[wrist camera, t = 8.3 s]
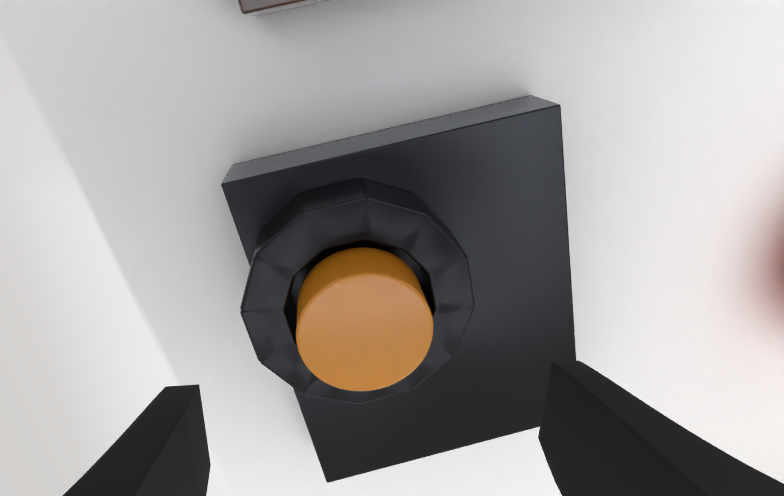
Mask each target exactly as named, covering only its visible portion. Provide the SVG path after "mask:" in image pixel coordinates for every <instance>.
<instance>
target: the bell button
mask: <svg viewBox="0 0 784 496" xmlns="http://www.w3.org/2000/svg"><path fill="white" fill-rule="evenodd" d="M433 327H434V325H433V317H432V314H431V310H430V308H429V305H428V303H427V300H426V298H425V296H424V293H423V291H422V288H421V286H420V284H419V281H418V279H417V277H416V275H415V274H414V272H413V270H412V269H411V268H410V267H409V266H408V265H407V264H406V263H405V262H404V261H403V260H402V259H400V258H399V257H397V256H395V255H393V254H391V253H389V252H387V251H384V250H381V249H376V248H367V247H358V248H350V249H345V250H342V251H339V252H337V253H334V254H332V255H330V256H328V257H327V258H325V259H323V260H322V261H321V262H319V263H318V264H317V265H316V266H315V267H314V268H313V269H312V270H311V271H310V272H309V274H308V275H307V276H306V278H305V280H304V282H303V283H302V286H301V288H300V291H299V296H298V306H297V326H296V342H297V347H298V351H299V354H300V356H301V358H302V360H303V362H304V363H305V365H306V366H307V367H308V369H309V370H310V371H311V372H312V373H313V374H314V375H315V376H316V377H318V378H319V379H321V380H322V381H324V382H325V383H327V384H329V385H331V386H334V387H337V388H340V389H345V390H351V391H370V390H376V389H381V388H384V387H387V386H390V385H392V384H394V383H397V382H398V381H400V380H402V379H404V378H405V377H406V376H408V375H409V374H410V373H411V372H413V371H414V370H415V369H416V368H417V367H418V365H419V364H420V363H421V362H422V360H423V359H424V357H425V356H426V354H427V352H428V350H429V348H430V345H431V342H432V337H433Z"/></svg>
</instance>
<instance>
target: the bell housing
mask: <svg viewBox="0 0 784 496" xmlns="http://www.w3.org/2000/svg"><path fill="white" fill-rule="evenodd" d="M221 186H222V189H223V191H224V194H225V197H226V200H227V203H228V205H229V208H230V211H231V214H232V217H233V219H234V222H235V225H236V228H237V231H238V234H239V236H240V239H241V242H242V245H243V248H244V250H245V253H246V256H247V259H248V262H249V265H250V271H249V275H248V279H247V283H246V287H245V291H244V295H243V299H242V303H241V307H240V308H241V312H240V313H241V316H242V319H243V321H244V324H245V326H246V329H247V332H248V334H249V337H250V340H251V342H252V345H253V348H254V350H255V353H256V355H257V358H258V360H259V361H260V362H261V363H262V364H263V365H264V366H266V367H267V368H268V369H270V370H271V371H272V372H274V373H275V374H276V375H277V376H279V377H280V378H281V379H283V380H284V381H285V382H287V383H288V384H289V385H291V386H292V387H293V388H294V391H295V394H296V397H297V400H298V403H299V405H300V408H301V411H302V414H303V417H304V419H305V422H306V425H307V428H308V431H309V433H310V436H311V439H312V442H313V445H314V448H315V450H316V453H317V456H318V459H319V462H320V464H321V467H322V470H323V473H324V476H325V479H326V481H327V483H328V482H332V481H336V480H340V479H344V478H347V477H351V476H355V475H359V474H362V473H366V472H370V471H374V470H377V469H381V468H385V467H389V466H393V465H396V464H400V463H404V462H408V461H411V460H415V459H419V458H423V457H427V456H430V455H434V454H438V453H442V452H445V451H449V450H453V449H457V448H460V447H464V446H468V445H472V444H476V443H479V442H483V441H487V440H491V439H494V438H498V437H502V436H506V435H510V434H513V433H517V432H521V431H525V430H528V429H532V428H536V427H540V425H541V420H542V414H543V409H544V403H545V397H546V392H547V386H548V381H549V375H550V370H551V364H552V362H566V361H576V352H575V335H574V319H573V303H572V287H571V270H570V254H569V238H568V221H567V205H566V189H565V173H564V156H563V140H562V124H561V107H560V104H556V103H553V102H550V101H547V100H544V99H541V98H538V97H535V96H532V95H530V96H526V97H521V98H517V99H513V100H508V101H504V102H500V103H496V104H491V105H487V106H483V107H478V108H474V109H470V110H466V111H461V112H457V113H453V114H448V115H444V116H440V117H435V118H431V119H427V120H423V121H418V122H414V123H410V124H405V125H401V126H397V127H393V128H388V129H384V130H380V131H375V132H371V133H367V134H362V135H358V136H354V137H350V138H345V139H341V140H337V141H332V142H328V143H324V144H320V145H315V146H311V147H307V148H302V149H298V150H294V151H289V152H285V153H281V154H277V155H272V156H268V157H264V158H259V159H255V160H251V161H247V162H242V163H238V164H234V165H232V166H231V168H230V170H229V171H228V173H227V175H226V177H225V178H224V180H223V182H222V184H221ZM358 247H367V248H376V249H381V250H384V251H387V252H389V253H391V254H393V255H395V256H397V257H399V258H400V259H402V260H403V261H404V262H405V263H406V264H407V265H408V266H409V267H410V268H411V269H412V270H413V272H414V274H415V275H416V277H417V279H418V281H419V284H420V286H421V288H422V291H423V293H424V296H425V298H426V300H427V303H428V305H429V308H430V310H431V314H432V317H433V325H434V327H433V337H432V342H431V345H430V348H429V350H428V352H427V354H426V356H425V357H424V359H423V360H422V362H421V363H420V364H419V365H418V367H417V368H416V369H415V370H414V371H413V372H411V373H410V374H409V375H408V376H406V377H405V378H404V379H402V380H400V381H398V382H397V383H394V384H392V385H390V386H387V387H384V388H381V389H376V390H370V391H351V390H345V389H340V388H337V387H334V386H331V385H329V384H327V383H325V382H324V381H322V380H321V379H319V378H318V377H316V376H315V375H314V374H313V373H312V372H311V371H310V370H309V369H308V367H307V366H306V365H305V363H304V362H303V360H302V358H301V356H300V354H299V351H298V347H297V342H296V326H297V306H298V296H299V291H300V288H301V286H302V283H303V282H304V280H305V278H306V276H307V275H308V274H309V272H310V271H311V270H312V269H313V268H314V267H315V266H316V265H317V264H318V263H319V262H321V261H322V260H323V259H325V258H327V257H328V256H330V255H332V254H334V253H337V252H339V251H342V250H345V249H350V248H358Z"/></svg>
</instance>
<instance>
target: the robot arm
mask: <svg viewBox="0 0 784 496" xmlns="http://www.w3.org/2000/svg"><path fill="white" fill-rule="evenodd" d="M538 438H539V441H540V444H541V446H542V449H543V452H544V454H545V457H546V460H547V463H548V465H549V467H550V470H551V472H552V475H553V477H554V480H555V482H556V484H557V486H558V488H559V490H560V492H561V494H562V496H784V484H783V483H781V482H779V481H777V480H775V479H773V478H771V477H769V476H767V475H765V474H763V473H761V472H760V471H758V470H756V469H754V468H752V467H750V466H748V465H746V464H745V463H743V462H741V461H739V460H737V459H736V458H734V457H732V456H730V455H729V454H727V453H725V452H723V451H722V450H720V449H718V448H717V447H715V446H713V445H711V444H710V443H708V442H706V441H705V440H703V439H701V438H700V437H698V436H696V435H695V434H693V433H691V432H690V431H688V430H686V429H685V428H683V427H682V426H680V425H678V424H677V423H675V422H674V421H672V420H671V419H669V418H667V417H666V416H664V415H663V414H661V413H660V412H658V411H656V410H655V409H653V408H652V407H650V406H649V405H647V404H646V403H644V402H643V401H641V400H640V399H638V398H637V397H635V396H634V395H632V394H631V393H629V392H628V391H626V390H625V389H623V388H622V387H620V386H618V385H617V384H615V383H614V382H612V381H611V380H609V379H608V378H606V377H605V376H603V375H602V374H600V373H599V372H597V371H595V370H594V369H592V368H591V367H589V366H587V365H585V364H584V363H582V362H580V361H566V362H552V364H551V370H550V375H549V381H548V386H547V392H546V397H545V403H544V409H543V414H542V420H541V425H540V431H539V436H538ZM209 472H210V458H209V451H208V444H207V437H206V430H205V423H204V416H203V409H202V402H201V396H200V389H199V385H185V386H169V387H165V388H164V389H163V390H162V391H161V392H160V393H159V394H158V395H157V397H156V398H155V399H154V400H153V401H152V402H151V403H150V404H149V405H148V406H147V407H146V409H145V410H144V411H143V412H142V413H141V414H140V415H139V416H138V418H137V419H136V420H135V421H134V422H133V423H132V424H131V425H130V427H129V428H128V429H127V430H126V431H125V432H124V433H123V434H122V435H121V437H119V439H118V440H117V441H116V442H115V443H114V444H113V445H112V446H111V447H110V448H109V449H108V450H107V451H106V452H105V453H104V454H103V456H102V457H101V458H100V459H99V460H98V461H97V462H96V463H95V464H94V465H93V466H92V467H91V468H90V469H89V470H88V471H87V472H86V473H85V474H84V475H83V476H82V477H81V478H80V479H79V480H78V481H77V482H76V483H75V484H74V485H73V486H72V487H71V488H70V489H69V490H68V491H67V492H66V493H65V494H64V495H63V496H206V492H207V485H208V479H209Z"/></svg>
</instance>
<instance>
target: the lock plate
mask: <svg viewBox="0 0 784 496" xmlns="http://www.w3.org/2000/svg"><path fill="white" fill-rule="evenodd" d="M322 1H327V0H238V2H239V5H240V9H241V12H242V13H243V14H248V15H254V16H258V15H263V14H268V13H272V12H277V11H281V10H286V9H290V8H295V7H300V6H304V5H309V4H313V3H318V2H322Z"/></svg>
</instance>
